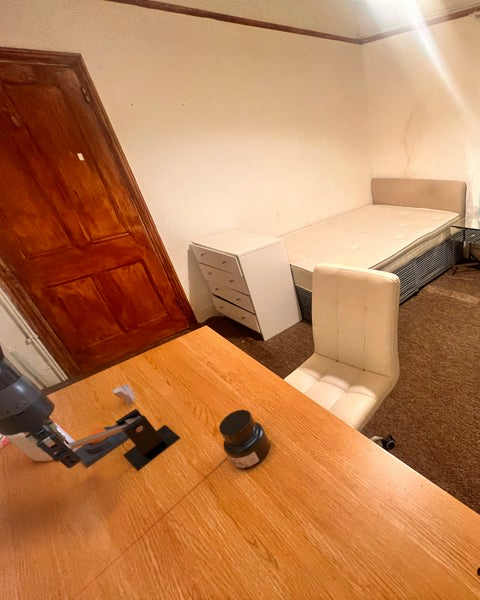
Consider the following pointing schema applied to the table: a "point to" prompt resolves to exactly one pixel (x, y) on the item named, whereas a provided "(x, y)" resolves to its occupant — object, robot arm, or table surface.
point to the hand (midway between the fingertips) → (69, 455)
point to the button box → (100, 447)
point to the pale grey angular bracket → (125, 393)
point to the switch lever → (102, 434)
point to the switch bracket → (145, 439)
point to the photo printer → (34, 446)
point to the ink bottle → (244, 439)
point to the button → (97, 433)
